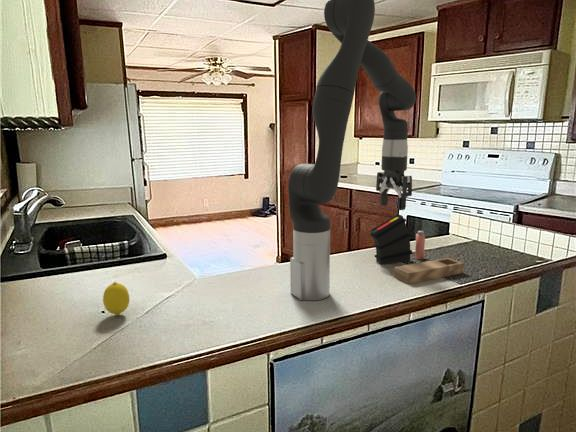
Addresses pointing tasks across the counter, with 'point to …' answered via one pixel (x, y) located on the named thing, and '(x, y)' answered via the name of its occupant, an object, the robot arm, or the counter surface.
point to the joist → (428, 270)
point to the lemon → (116, 298)
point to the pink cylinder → (420, 245)
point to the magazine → (392, 241)
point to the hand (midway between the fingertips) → (392, 207)
